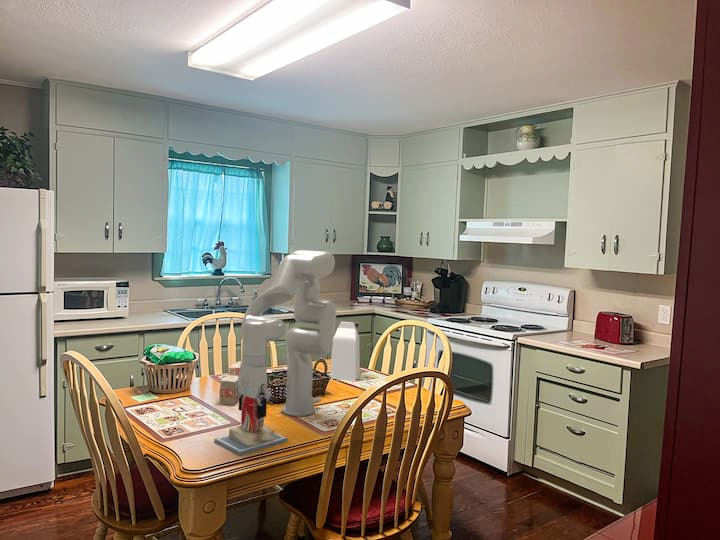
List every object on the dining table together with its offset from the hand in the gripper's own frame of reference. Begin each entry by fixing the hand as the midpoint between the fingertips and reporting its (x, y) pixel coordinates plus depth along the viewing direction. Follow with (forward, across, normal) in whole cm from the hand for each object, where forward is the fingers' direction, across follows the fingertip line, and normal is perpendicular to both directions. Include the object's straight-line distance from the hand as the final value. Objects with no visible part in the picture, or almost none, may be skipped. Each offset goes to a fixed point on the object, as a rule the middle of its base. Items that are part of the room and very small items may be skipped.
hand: (252, 413), depth 177 cm
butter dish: (+9, 0, 0) cm, 9 cm away
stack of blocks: (+10, -43, +23) cm, 50 cm away
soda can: (+5, 0, 0) cm, 5 cm away
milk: (+9, -38, +79) cm, 88 cm away
